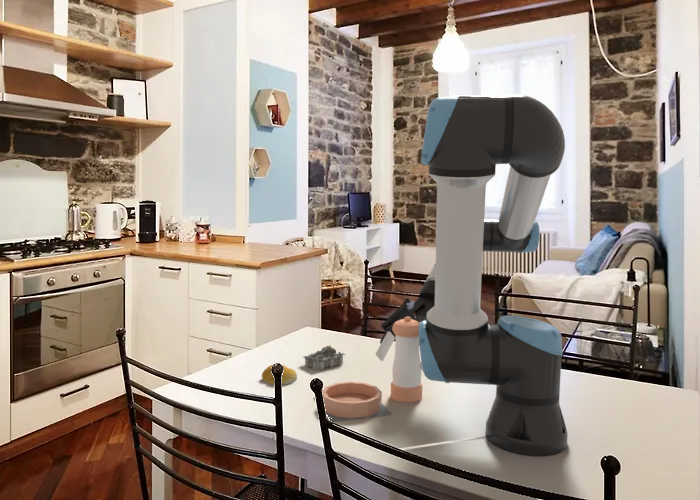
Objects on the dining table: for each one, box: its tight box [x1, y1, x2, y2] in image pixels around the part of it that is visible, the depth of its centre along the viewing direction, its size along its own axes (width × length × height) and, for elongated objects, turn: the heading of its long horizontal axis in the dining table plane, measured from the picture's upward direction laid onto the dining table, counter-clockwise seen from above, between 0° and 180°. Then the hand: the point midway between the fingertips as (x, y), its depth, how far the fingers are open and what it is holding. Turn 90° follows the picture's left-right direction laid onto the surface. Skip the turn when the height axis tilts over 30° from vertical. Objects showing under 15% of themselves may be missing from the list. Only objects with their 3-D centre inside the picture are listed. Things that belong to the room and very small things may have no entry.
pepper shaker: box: [390, 317, 423, 403], centre depth 127 cm, size 7×7×19 cm
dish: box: [321, 381, 383, 418], centre depth 122 cm, size 13×13×3 cm
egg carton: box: [303, 345, 346, 371], centre depth 153 cm, size 11×8×4 cm
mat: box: [313, 397, 393, 423], centre depth 122 cm, size 14×14×1 cm
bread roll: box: [261, 364, 298, 386], centre depth 139 cm, size 8×9×4 cm
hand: (400, 363), depth 125 cm, fingers open, 12 cm apart
